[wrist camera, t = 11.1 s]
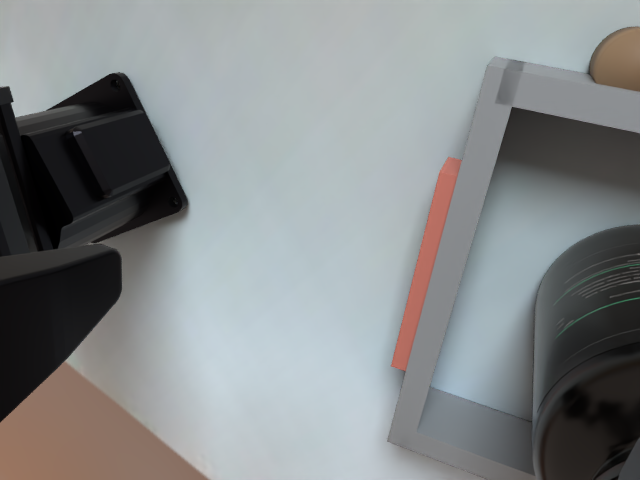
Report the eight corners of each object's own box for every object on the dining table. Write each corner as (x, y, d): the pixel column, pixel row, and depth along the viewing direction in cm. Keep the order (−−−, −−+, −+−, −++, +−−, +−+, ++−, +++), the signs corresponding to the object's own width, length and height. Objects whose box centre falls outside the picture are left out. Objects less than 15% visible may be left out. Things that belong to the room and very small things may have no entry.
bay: (390, 391, 25) (373, 436, 23) (476, 53, 19) (466, 61, 16) (705, 504, 22) (728, 571, 19) (945, 140, 15) (1025, 168, 13)
